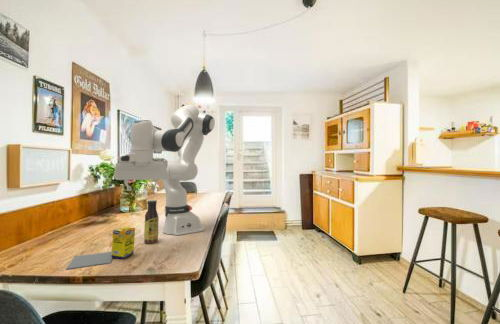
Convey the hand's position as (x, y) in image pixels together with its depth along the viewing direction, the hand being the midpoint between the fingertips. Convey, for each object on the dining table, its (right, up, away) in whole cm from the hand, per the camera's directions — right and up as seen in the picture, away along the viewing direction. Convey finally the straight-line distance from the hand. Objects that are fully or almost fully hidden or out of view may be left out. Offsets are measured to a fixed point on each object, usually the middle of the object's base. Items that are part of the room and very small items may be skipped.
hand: (141, 190), depth 101 cm
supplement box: (-6, -27, -4) cm, 27 cm away
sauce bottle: (-1, -27, +14) cm, 30 cm away
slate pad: (-16, -27, -8) cm, 32 cm away
